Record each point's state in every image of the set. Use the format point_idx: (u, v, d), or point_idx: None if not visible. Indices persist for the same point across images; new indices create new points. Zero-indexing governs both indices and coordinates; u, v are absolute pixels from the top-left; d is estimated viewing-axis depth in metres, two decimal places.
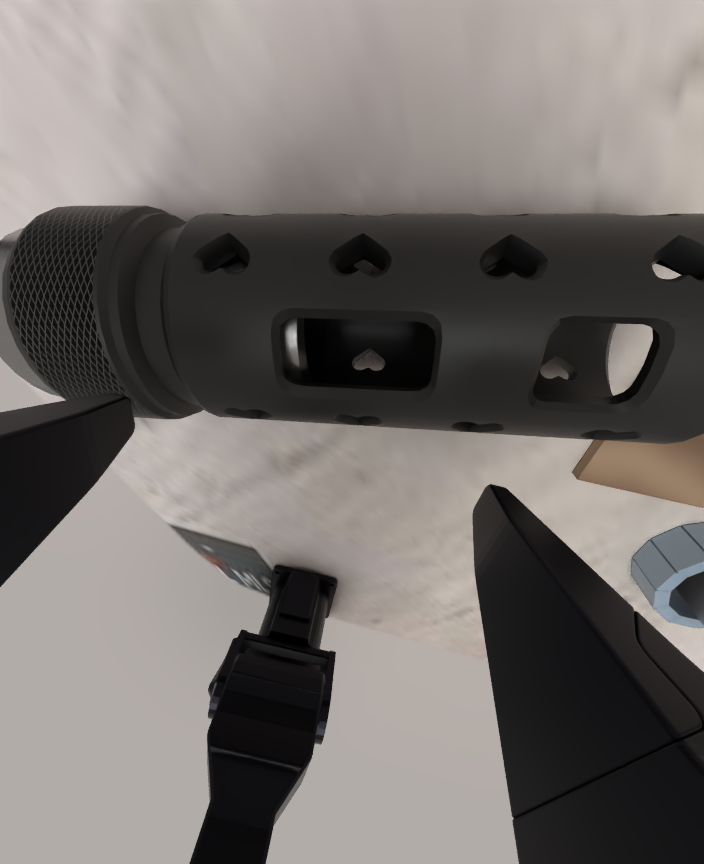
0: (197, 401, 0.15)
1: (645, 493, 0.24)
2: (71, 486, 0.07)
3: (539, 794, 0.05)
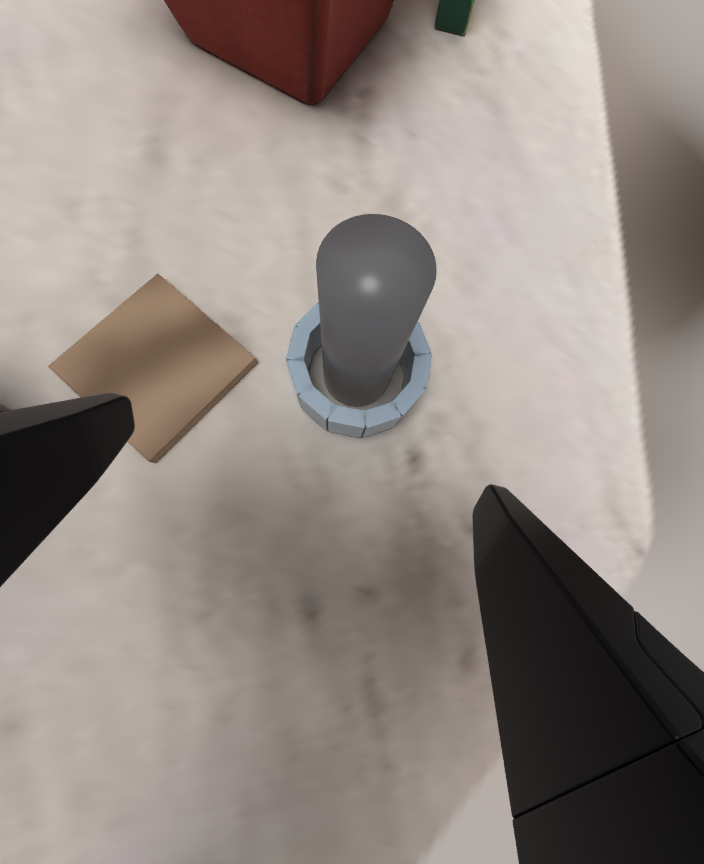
0: None
1: (206, 402, 0.21)
2: (71, 486, 0.07)
3: (539, 794, 0.05)
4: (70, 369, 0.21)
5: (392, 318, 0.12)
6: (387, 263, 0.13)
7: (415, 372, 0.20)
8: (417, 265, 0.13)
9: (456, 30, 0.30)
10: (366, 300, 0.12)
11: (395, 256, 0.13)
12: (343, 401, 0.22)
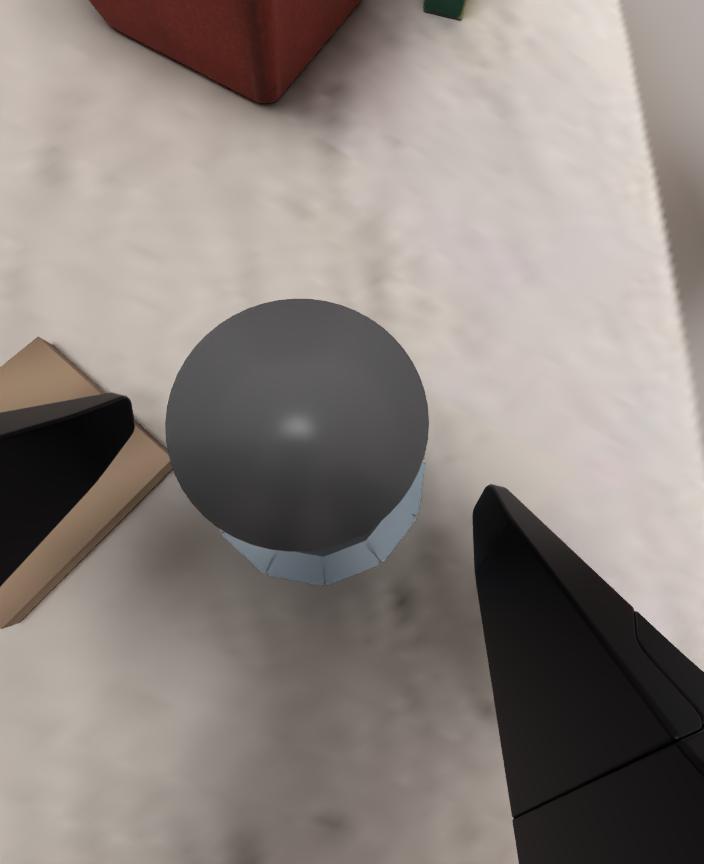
0: None
1: (96, 530, 0.15)
2: (71, 486, 0.07)
3: (539, 795, 0.05)
4: None
5: (331, 544, 0.05)
6: (324, 410, 0.06)
7: None
8: (388, 411, 0.06)
9: (451, 12, 0.24)
10: (274, 501, 0.05)
11: (341, 392, 0.06)
12: None
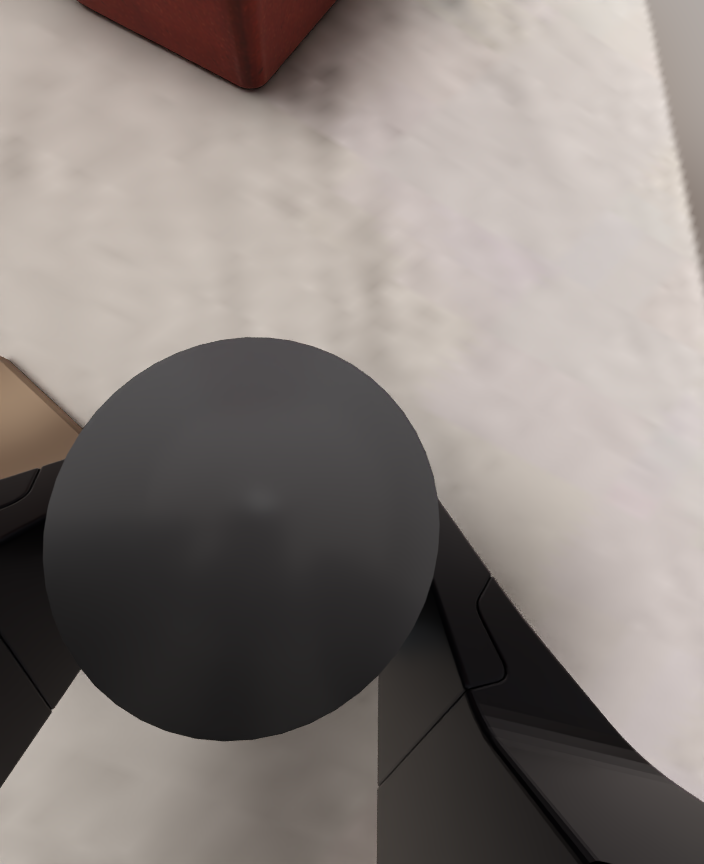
0: None
1: None
2: None
3: (393, 760, 0.05)
4: None
5: (290, 727, 0.03)
6: (283, 507, 0.04)
7: None
8: (379, 507, 0.04)
9: None
10: (204, 656, 0.04)
11: (310, 477, 0.04)
12: None
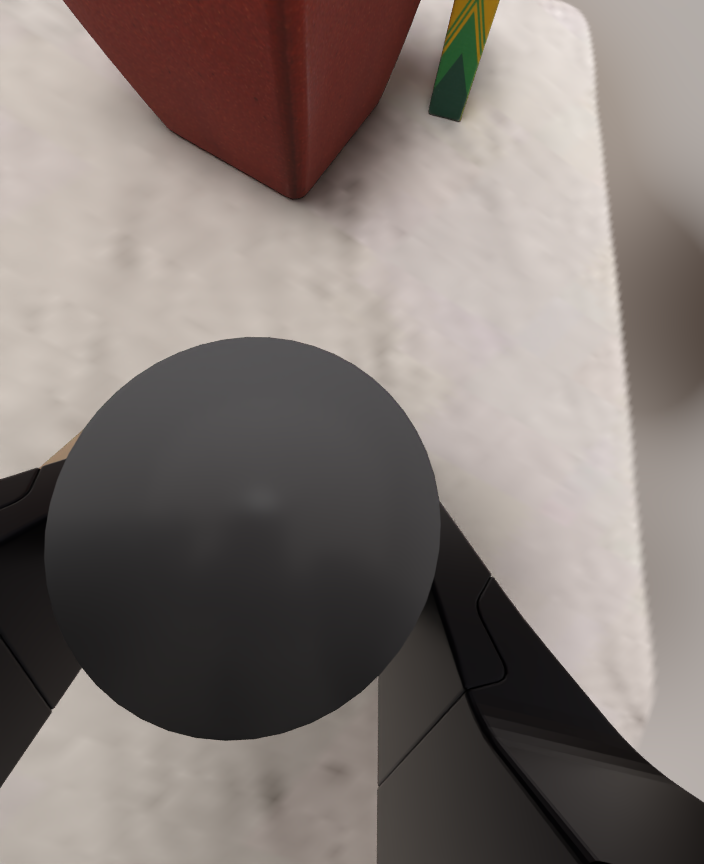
0: None
1: None
2: None
3: (392, 760, 0.05)
4: None
5: (291, 726, 0.03)
6: (285, 506, 0.04)
7: None
8: (380, 507, 0.04)
9: (451, 116, 0.28)
10: (206, 655, 0.04)
11: (311, 477, 0.04)
12: None
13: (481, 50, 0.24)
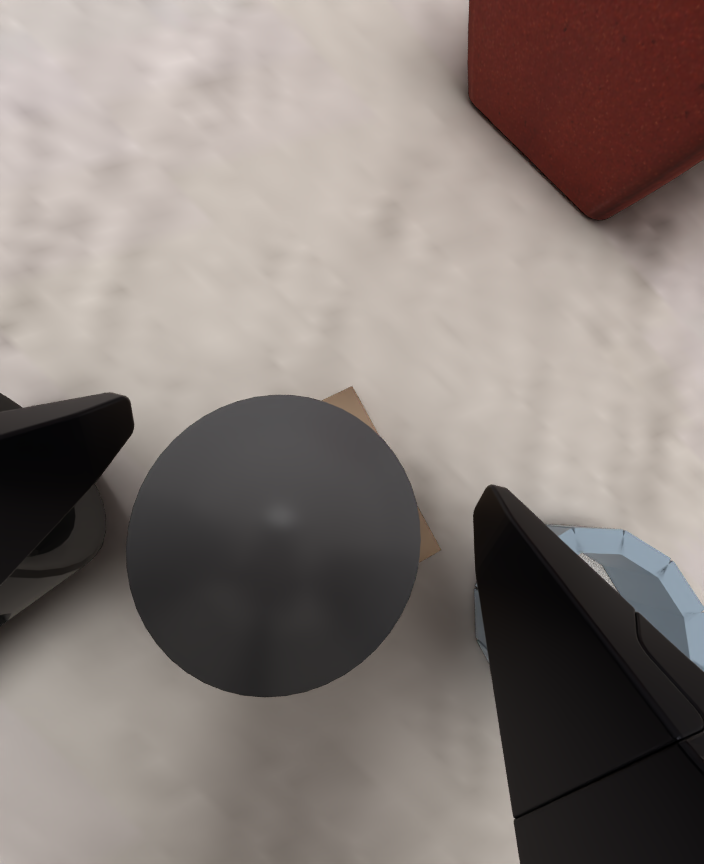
0: None
1: None
2: (70, 486, 0.07)
3: (540, 794, 0.05)
4: None
5: (311, 687, 0.05)
6: (305, 528, 0.05)
7: None
8: (376, 528, 0.05)
9: None
10: (248, 637, 0.05)
11: (323, 505, 0.05)
12: None
13: None
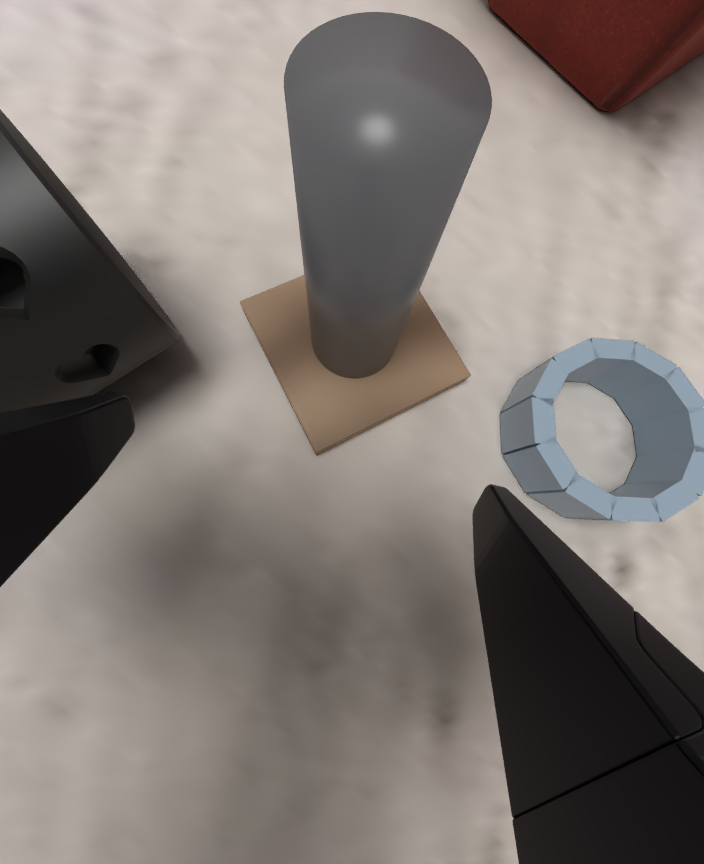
0: None
1: (400, 407, 0.17)
2: (71, 486, 0.07)
3: (539, 794, 0.05)
4: (262, 314, 0.18)
5: (420, 169, 0.07)
6: (408, 85, 0.07)
7: (690, 470, 0.15)
8: (459, 89, 0.07)
9: None
10: (373, 139, 0.07)
11: (420, 74, 0.07)
12: (337, 370, 0.17)
13: None
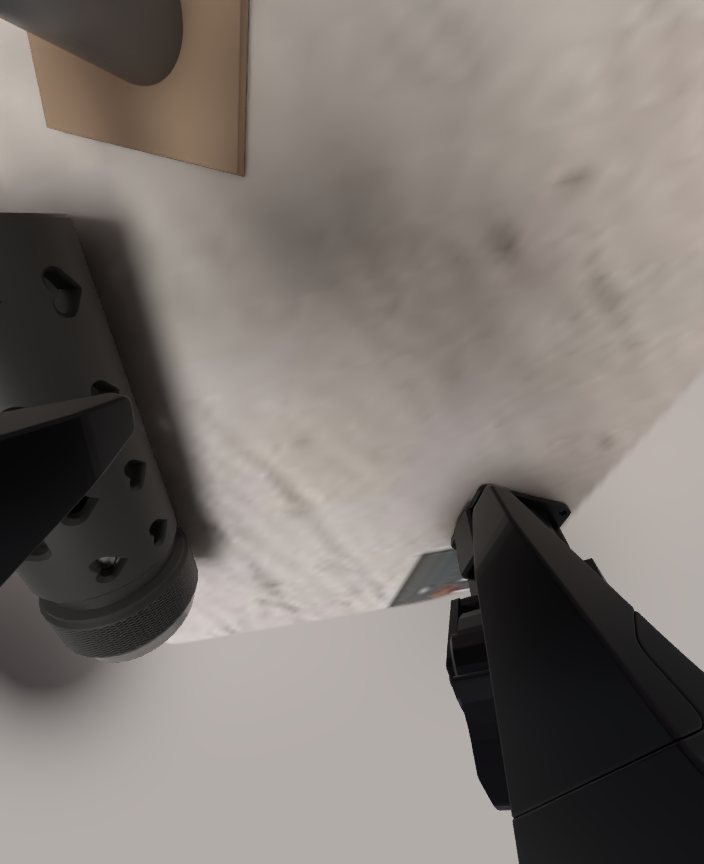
0: (98, 596, 0.21)
1: (236, 21, 0.13)
2: (71, 486, 0.07)
3: (539, 794, 0.05)
4: (67, 112, 0.15)
5: None
6: None
7: None
8: None
9: None
10: None
11: None
12: (159, 72, 0.14)
13: None
